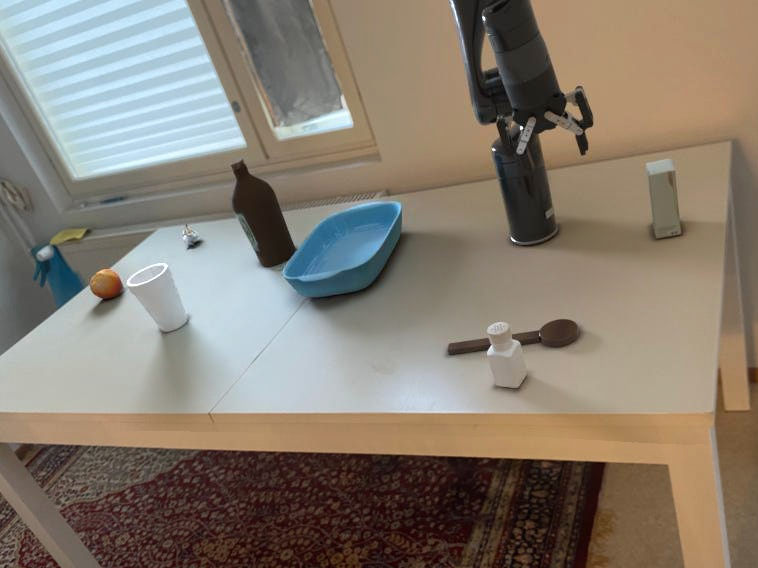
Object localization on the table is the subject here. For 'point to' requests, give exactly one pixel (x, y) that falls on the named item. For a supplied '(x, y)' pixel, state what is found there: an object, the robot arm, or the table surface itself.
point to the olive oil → (260, 216)
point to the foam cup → (159, 296)
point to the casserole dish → (345, 250)
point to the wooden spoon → (527, 337)
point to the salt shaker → (505, 356)
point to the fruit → (106, 284)
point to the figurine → (189, 236)
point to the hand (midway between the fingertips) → (557, 161)
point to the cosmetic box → (663, 198)
